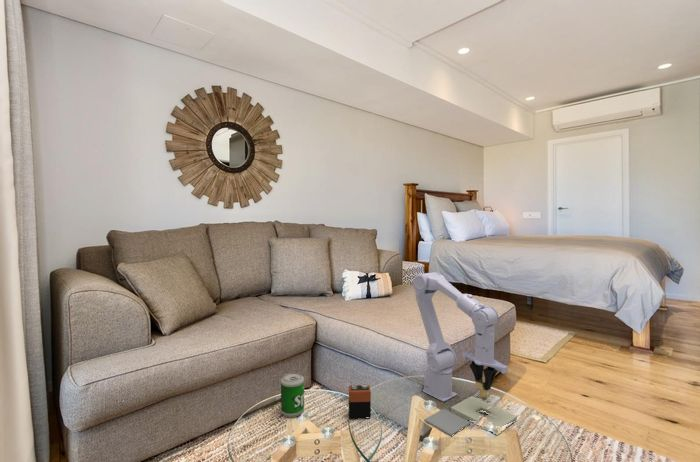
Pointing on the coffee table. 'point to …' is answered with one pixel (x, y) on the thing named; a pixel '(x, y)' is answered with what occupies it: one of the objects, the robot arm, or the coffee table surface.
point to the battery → (359, 401)
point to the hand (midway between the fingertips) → (483, 387)
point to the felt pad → (447, 422)
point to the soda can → (292, 394)
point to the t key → (481, 388)
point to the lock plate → (473, 405)
